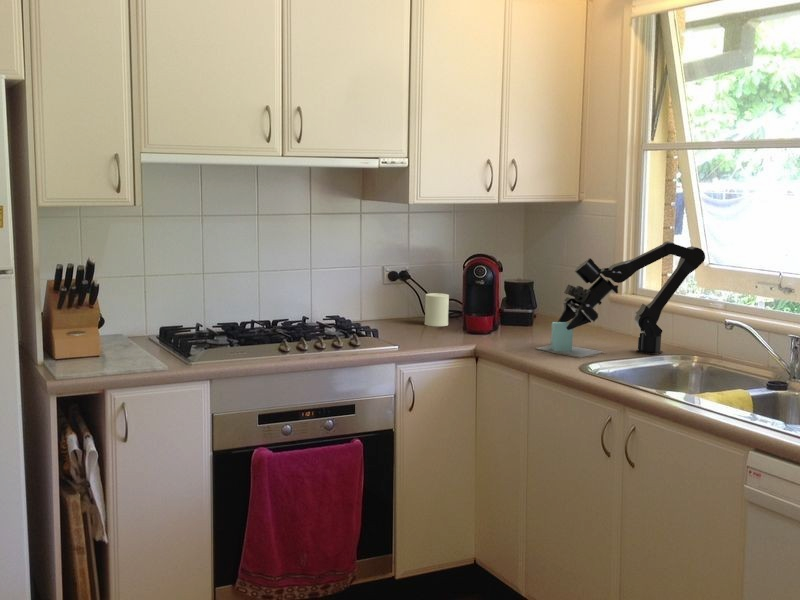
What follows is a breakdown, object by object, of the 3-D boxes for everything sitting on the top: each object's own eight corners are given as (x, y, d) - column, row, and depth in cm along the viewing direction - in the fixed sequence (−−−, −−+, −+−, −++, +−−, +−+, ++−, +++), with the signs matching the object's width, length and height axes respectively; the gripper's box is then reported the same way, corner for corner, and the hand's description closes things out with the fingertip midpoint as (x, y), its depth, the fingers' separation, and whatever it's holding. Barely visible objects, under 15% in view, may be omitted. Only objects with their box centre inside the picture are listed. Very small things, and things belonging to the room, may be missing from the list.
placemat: (603, 353, 299) (603, 351, 299) (580, 357, 290) (580, 356, 290) (558, 344, 312) (558, 343, 312) (535, 349, 303) (535, 348, 303)
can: (451, 323, 352) (452, 292, 350) (444, 327, 343) (445, 295, 341) (428, 321, 355) (429, 291, 353) (421, 325, 346) (422, 294, 344)
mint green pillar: (572, 350, 300) (573, 323, 299) (554, 351, 299) (555, 324, 298) (567, 348, 304) (569, 322, 302) (550, 348, 303) (551, 322, 301)
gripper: (570, 273, 308) (538, 305, 308) (590, 279, 290) (555, 314, 289) (591, 296, 310) (559, 328, 310) (612, 304, 292) (578, 338, 292)
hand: (562, 326), depth 300 cm, fingers open, 9 cm apart
